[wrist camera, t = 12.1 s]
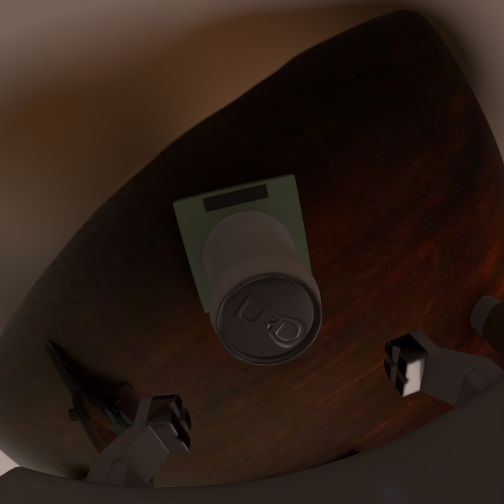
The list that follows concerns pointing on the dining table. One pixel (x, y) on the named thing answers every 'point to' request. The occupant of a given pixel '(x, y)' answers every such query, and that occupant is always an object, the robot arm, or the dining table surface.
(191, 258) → the scale
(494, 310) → the coffee cup
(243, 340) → the can
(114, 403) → the bird figurine
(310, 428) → the dining table surface
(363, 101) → the dining table surface
